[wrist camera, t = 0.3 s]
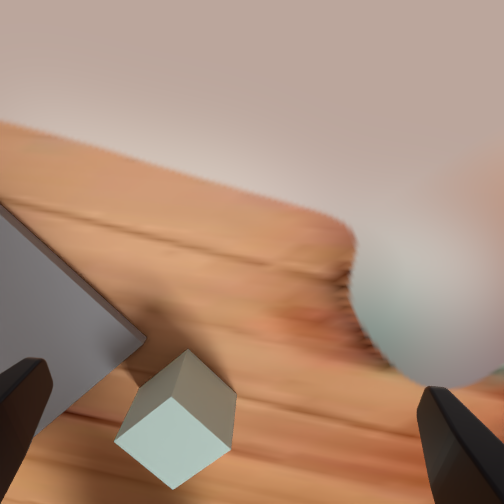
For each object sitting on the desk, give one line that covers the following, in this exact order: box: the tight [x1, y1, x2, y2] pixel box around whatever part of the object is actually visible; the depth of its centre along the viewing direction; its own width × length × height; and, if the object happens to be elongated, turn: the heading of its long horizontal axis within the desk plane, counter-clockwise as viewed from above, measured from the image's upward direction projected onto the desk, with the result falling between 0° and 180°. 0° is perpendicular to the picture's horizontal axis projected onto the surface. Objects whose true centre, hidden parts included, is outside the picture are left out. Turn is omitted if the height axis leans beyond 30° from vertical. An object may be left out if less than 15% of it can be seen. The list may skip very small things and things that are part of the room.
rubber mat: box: [0, 204, 147, 436], centre depth 26 cm, size 14×14×1 cm
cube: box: [114, 349, 237, 490], centre depth 25 cm, size 5×5×5 cm
